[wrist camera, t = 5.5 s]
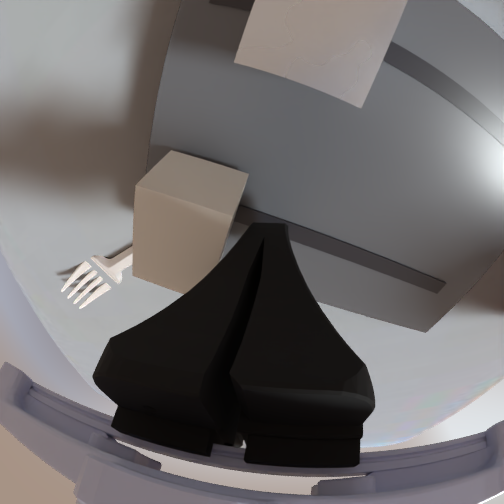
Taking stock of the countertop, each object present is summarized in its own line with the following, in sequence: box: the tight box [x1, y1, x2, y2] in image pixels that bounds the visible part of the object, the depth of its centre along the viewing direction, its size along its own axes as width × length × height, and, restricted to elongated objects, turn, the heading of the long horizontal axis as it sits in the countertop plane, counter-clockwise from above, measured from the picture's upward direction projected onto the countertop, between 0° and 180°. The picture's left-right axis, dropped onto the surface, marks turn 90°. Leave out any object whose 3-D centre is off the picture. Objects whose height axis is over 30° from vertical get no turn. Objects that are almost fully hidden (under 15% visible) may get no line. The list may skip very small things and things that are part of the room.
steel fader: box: [234, 0, 408, 108], centre depth 5 cm, size 3×4×3 cm
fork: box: [61, 246, 133, 309], centre depth 17 cm, size 3×20×2 cm, turn 123°
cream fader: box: [132, 150, 249, 294], centre depth 10 cm, size 3×4×3 cm
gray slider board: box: [146, 0, 504, 333], centre depth 10 cm, size 17×15×3 cm
